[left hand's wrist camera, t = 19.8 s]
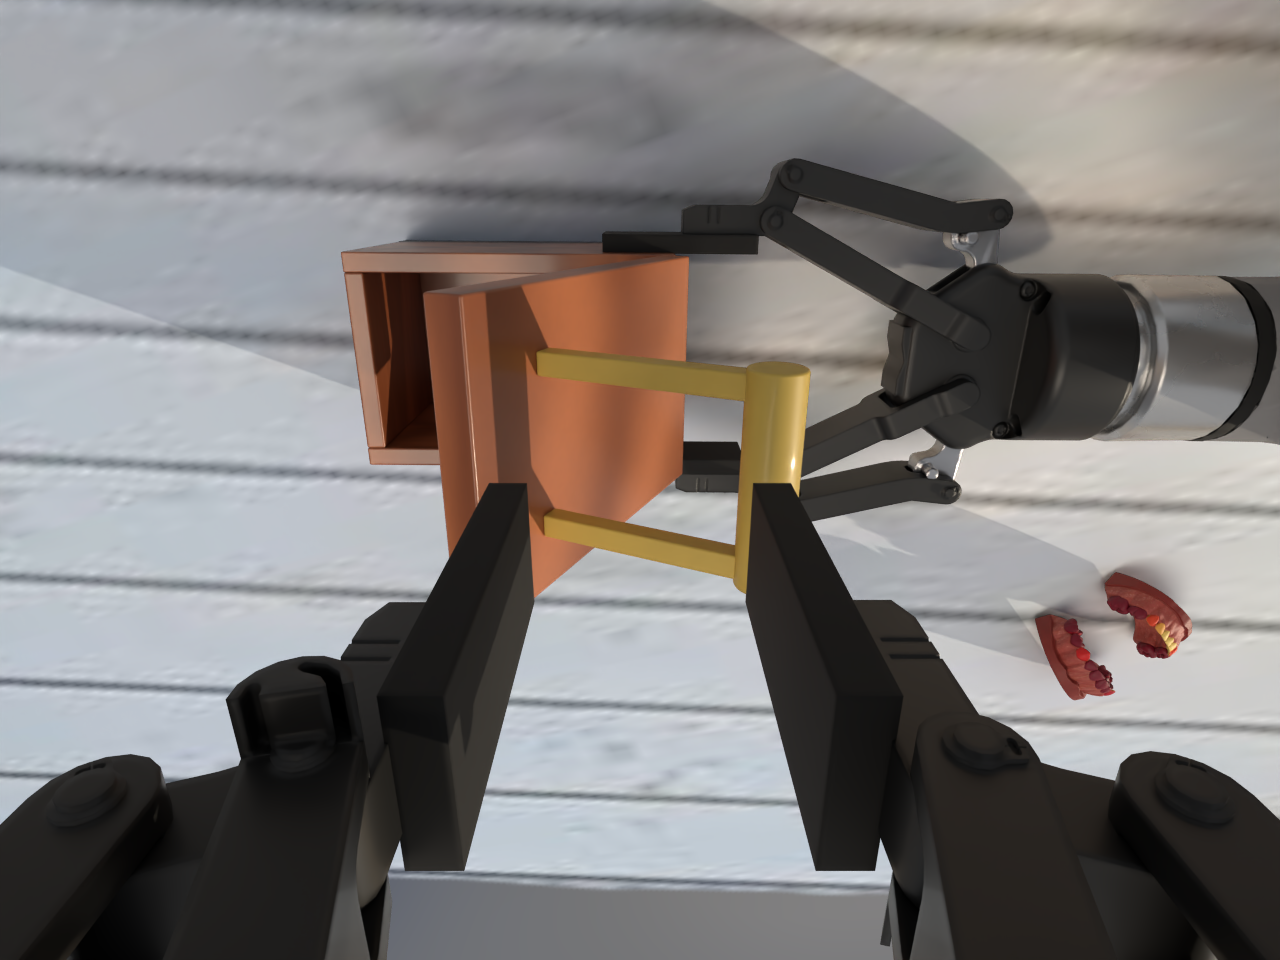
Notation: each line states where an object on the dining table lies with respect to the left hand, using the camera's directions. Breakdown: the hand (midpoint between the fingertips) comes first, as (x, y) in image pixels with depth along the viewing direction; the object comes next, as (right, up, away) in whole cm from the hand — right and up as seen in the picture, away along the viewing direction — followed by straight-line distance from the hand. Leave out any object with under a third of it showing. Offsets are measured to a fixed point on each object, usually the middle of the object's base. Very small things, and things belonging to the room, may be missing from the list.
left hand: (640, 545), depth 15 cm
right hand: (-2, +7, +18) cm, 20 cm away
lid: (-2, +4, +10) cm, 11 cm away
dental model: (+29, -8, +31) cm, 43 cm away
